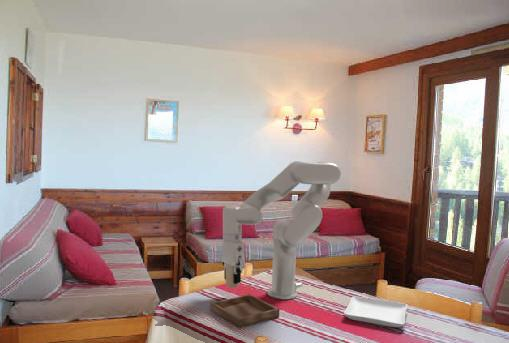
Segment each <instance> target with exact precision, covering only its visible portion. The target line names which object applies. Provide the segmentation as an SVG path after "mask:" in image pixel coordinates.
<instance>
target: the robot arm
mask: <svg viewBox="0 0 509 343" xmlns="http://www.w3.org/2000/svg"><path fill="white" fill-rule="evenodd" d="M341 172H342V171H341V169H340V167H339V166H338V165H337V164H335V163H331V162H326V161H318V162H316V163H314V162H304V161H299V160H298V161H297V160H296V161H293V162H291V163H289V164H288V165H287V166H286V167H285V168H284V169H283V170H281V172H279V174H277V175H276V176H275V177H274V178H273V179H272V180H270V182H268V183H267V184H265V185H264V186H262V187H261V188H259V189H258V190H256V191H255V192H253V193H252V194H251V195H250V196H249V197H248V198H247V199H245V200H244V201H243V202H242V203H241V204H240V205H239V206H238V205H227V206H224V207H223V209H222V243H221V244H222V246H221V257H220V261H221V264H222V266H223V271H224V273H223V274H224V276H223V277H224V280H225V281H226V264H229V265H231V266H233V268H234V273H235V274H234V275H233V277H234V284H237V283H239V284H240V283H241V282H242V272H243V271H244V270H245V268H246V266H245V262H246V261H245V260H246V258H245V248H244V247H245V246H244V242H243V238H242V236H243V235H242V234H243V233H242V232H243V231H242V230H243V228H242V227H243V226H242V225H246V226H248V225H249V226H254V225H258V224H259V223H260V222H261V221H262V219H263V213H262V211H261V210H262V209H263V208H264V207H265V206H267V205H269V204H271V203H273V202H277V201H281V200H283V199H284V198H285V197H286V196H288V194H290V192H292V191H293V190H294V189H295V188H296V187H297V186H299V184H303V185H310V188H309V189H308V190H307V191H306V192H305V194H304V195H303V196H302V197H301V198H300V199H299V200H298V201H297V202H296V203H295V204H294V206H293V207H292V209H291V215H292V218H293V219H292V220H290V219H288V218H282V219H278V221H276V222H275V223H274V225H273V228H272V244H273V245H272V246H273V247H272V248H273V250H272V251H273V252H272V269H271V270H272V272H271V287H270V288H268V289H267V295H268V296H269V297H271V298H274V299H278V300H291V299H295V298H297V297H298V295H299V294H298V290H297V289H299V288H302V287H303V282H297V283H296V281H295V279H296V265H297V264H296V261H297V248H298V247H301V245H302V244H303V243H304V242H305V241H307V239H308V238H309V237H310V236H311V235H312V234H313V233H314V231H316V229H317V228H318V227H319V226H320V224H321V223H322V222H321V221H322V220H323V211H322V209H321V208H322V207H323V205H324V204H325V202H327V200H328V198H329V197H330V194H331V188H332V187H331V185H333V184H335V183H337V182H339V180H340V179H341V174H342V173H341ZM237 264H238V265H237ZM236 267H238V269H236Z"/></svg>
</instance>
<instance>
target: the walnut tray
mask: <svg viewBox="0 0 509 343" xmlns="http://www.w3.org/2000/svg"><path fill="white" fill-rule="evenodd" d="M210 312H211V313H213V314H215V315H217V316H218V317H220V318H222V319H224V320H225V321H227V322H228V323H231V325H233V326H235V327H237V328H238V329H241V328H246V327H249V326H251V325H255V324H260V323H263V322H266V321H270V320H274V319H276V318H279V317H280V308H278V307H276V306H275V305H272V304H270V303H268V302H266V301H264V300H263V299H260V298H258V297H257V296H254V295H252V294H250V293H249V294H245V295H240V296H239V295H238V296H235V297H231V298H227V299H223V300H218V301H214V302H210Z"/></svg>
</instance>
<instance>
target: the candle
mask: <svg viewBox="0 0 509 343" xmlns="http://www.w3.org/2000/svg"><path fill="white" fill-rule="evenodd" d="M237 265H238V264H237ZM236 269H238V267H236ZM234 274H235V273H234V268H233V266H231V265H229V264H226V280H225V287H226V288H233V289H235V288H238V287H239V286H240V283H237V284H234V277H233V275H234Z"/></svg>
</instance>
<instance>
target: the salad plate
mask: <svg viewBox="0 0 509 343" xmlns="http://www.w3.org/2000/svg"><path fill="white" fill-rule="evenodd" d="M408 307H409V305H408V304H407V303H402V302H395V301H390V300H385V299H378V298H377V299H376V298H372V297H371V298H370V297H363V296H358V295H355V296H354V295H353V296H352V297H351V299H350V301H349V303H348V305H347V307H346V308H345V309H344V312H343V315H344V316H345V317H346V318H348V319H349V320H354V321H357V322H362V323H368V324H373V325H378V326H384V327H390V328H400V327H404V325H405V323H406V314H407V310H408Z"/></svg>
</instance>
